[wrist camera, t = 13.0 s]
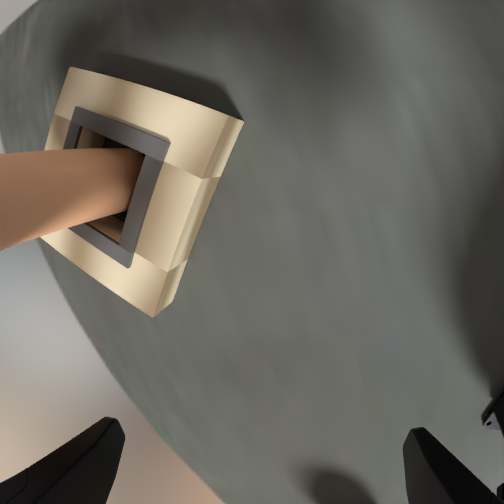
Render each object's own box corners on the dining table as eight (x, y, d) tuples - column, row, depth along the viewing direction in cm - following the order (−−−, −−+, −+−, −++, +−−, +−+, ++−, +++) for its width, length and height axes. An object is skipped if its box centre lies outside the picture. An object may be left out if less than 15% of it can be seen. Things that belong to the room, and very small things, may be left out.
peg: (145, 140, 18) (-36, 144, 7) (156, 203, 19) (-18, 258, 8) (99, 157, 19) (-63, 177, 8) (109, 214, 20) (-47, 267, 9)
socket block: (244, 121, 16) (226, 114, 14) (172, 301, 20) (150, 320, 18) (94, 72, 18) (66, 65, 15) (54, 222, 22) (28, 230, 19)
